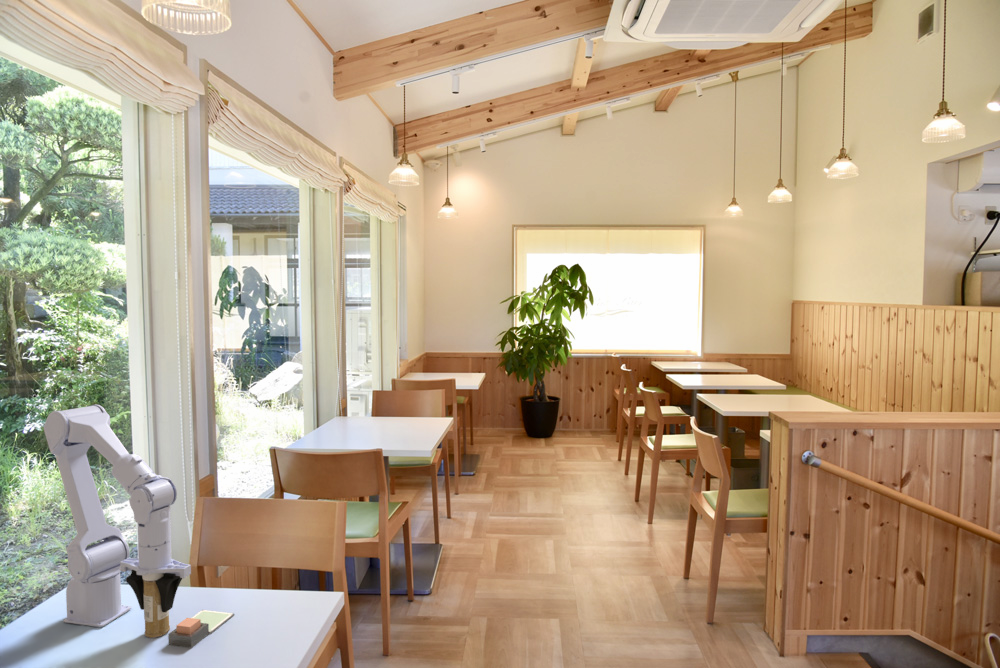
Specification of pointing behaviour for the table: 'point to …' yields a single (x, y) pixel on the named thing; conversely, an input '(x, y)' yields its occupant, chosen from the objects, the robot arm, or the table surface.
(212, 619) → the picture board
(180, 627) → the button
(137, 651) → the table surface
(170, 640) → the button housing
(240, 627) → the table surface
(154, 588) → the sprinkles bottle
